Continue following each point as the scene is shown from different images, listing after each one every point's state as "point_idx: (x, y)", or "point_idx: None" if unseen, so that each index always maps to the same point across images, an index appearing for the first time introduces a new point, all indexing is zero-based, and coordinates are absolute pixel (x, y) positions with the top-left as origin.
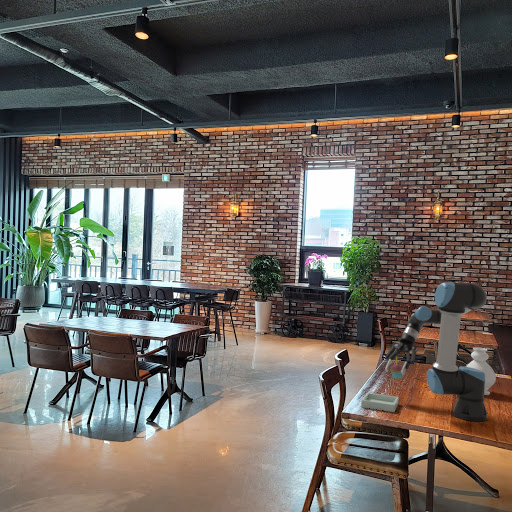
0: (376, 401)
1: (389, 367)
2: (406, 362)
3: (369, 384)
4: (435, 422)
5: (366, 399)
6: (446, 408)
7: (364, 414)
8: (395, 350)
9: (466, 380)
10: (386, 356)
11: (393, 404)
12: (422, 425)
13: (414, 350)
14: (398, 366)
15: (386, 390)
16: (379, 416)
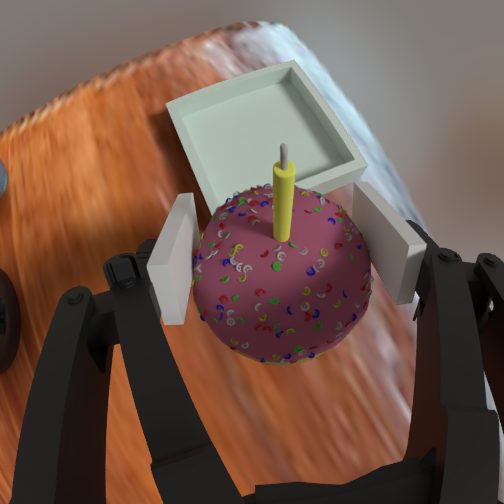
0: (291, 153)
1: (360, 234)
2: (149, 266)
3: None
4: (39, 157)
5: (323, 123)
6: None
7: (234, 40)
8: (483, 384)
9: None
10: (485, 257)
11: (172, 106)
12: (64, 103)
13: (19, 488)
14: (245, 220)
15: (400, 413)
16: (190, 57)
